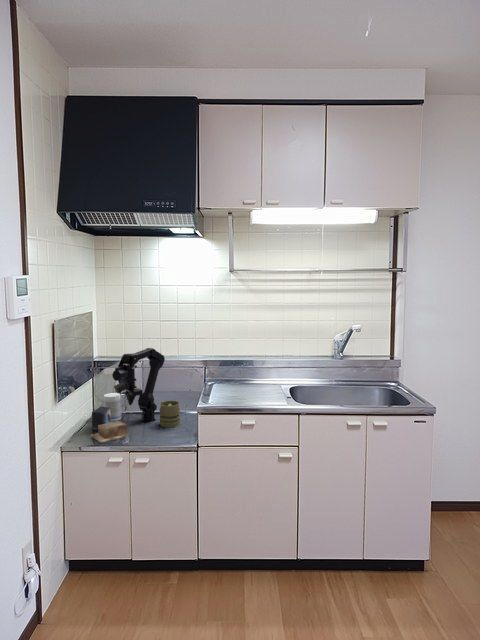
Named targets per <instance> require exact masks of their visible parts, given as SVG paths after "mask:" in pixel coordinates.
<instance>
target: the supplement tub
mask: <svg viewBox="0 0 480 640" xmlns="http://www.w3.org/2000/svg"><path fill="white" fill-rule="evenodd" d="M121 401H122V400H121V393H118V392H110V393H106V394H104V395H103V407H110V408H111V422H115V421H121V419H122V402H121Z"/></svg>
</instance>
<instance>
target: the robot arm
mask: <svg viewBox="0 0 480 640" xmlns="http://www.w3.org/2000/svg"><path fill="white" fill-rule="evenodd" d="M164 356H165V355H164V354H162V353H161V352H159V351H157V350H156V349H155V348H153V347H147V348H145V349H142V350H140V351H137V352H135V353H134V352H133V353H132V352H131V353H124V354H123V355H122V356H121V359H120V361H119V363H118V365H117V367H114V370H113V372H112V374H111V376H112V379H113V380H114V381H116V382H118V381H121V382H119V383H117V384H116V385H114V386H113V388H114V391H115V393H119V394H121V393H122V394H124V395H125V396H126V399H127V402H128V405H129V406H132V405H133V402H134V400H135V398H136V396H138V400H137V401H138V402H137V405H138V409H139V411H141V418H140V420H141V421H143V422H144V423H151V422H154V421H156V418H155V412H156V410H157V407H158V405H157V404H156V403H155V398H154V390H155V387H156V382H157V379H158V374H159V371H160V369H161V368H163V366H164V363H165V361H166V359H165V357H164ZM146 358H147V359H148V360H149V362H148V364H149V367H150V369H149V372H148V376H147V380H146V383H145V388H144V392H143V390H142V389H141V388H139V387H137V385H136V382H137V378H136V374H135V373H136V371H135V369H137V368H138V365H137V363H138V362H139V361H140V360H144V359H146Z"/></svg>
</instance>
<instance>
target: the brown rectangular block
mask: <svg viewBox="0 0 480 640" xmlns="http://www.w3.org/2000/svg"><path fill="white" fill-rule="evenodd" d="M97 433H98V435H100V436H101V437H103V438H105V439H108V438H112V437H116V436H120V435H124V434H125V435H127V434H128V424H126V423H125V422H123V421H121V420H118V421H111V422H110V423H106V424H101V425H98V431H97Z"/></svg>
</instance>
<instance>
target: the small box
mask: <svg viewBox="0 0 480 640" xmlns="http://www.w3.org/2000/svg"><path fill="white" fill-rule="evenodd" d="M110 422H112V421H111V408H110V407H104V406H100V407H97V408H96V409H94V410H93V411H91V431H96V432H98V425H101V424H106V423H110Z"/></svg>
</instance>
